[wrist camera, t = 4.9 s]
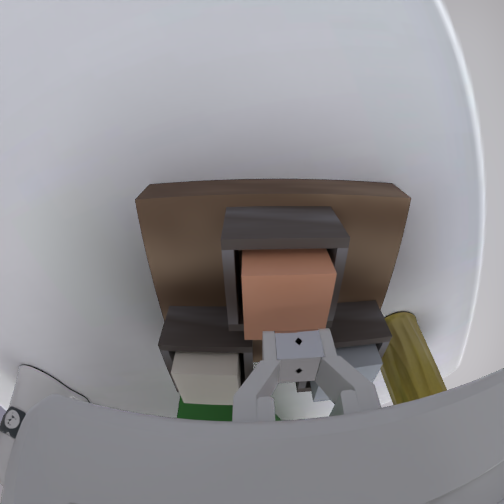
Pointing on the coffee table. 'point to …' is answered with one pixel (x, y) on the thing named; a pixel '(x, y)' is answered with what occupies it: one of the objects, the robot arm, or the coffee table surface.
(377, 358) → the slate button
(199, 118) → the coffee table surface
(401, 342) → the vase
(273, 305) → the terracotta button
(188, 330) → the block sorting tray
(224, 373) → the cream button
